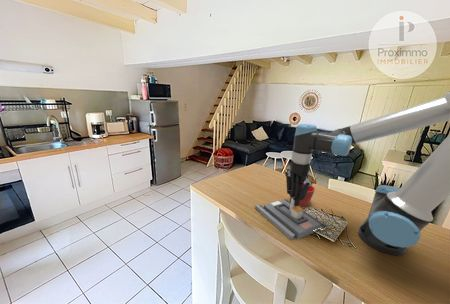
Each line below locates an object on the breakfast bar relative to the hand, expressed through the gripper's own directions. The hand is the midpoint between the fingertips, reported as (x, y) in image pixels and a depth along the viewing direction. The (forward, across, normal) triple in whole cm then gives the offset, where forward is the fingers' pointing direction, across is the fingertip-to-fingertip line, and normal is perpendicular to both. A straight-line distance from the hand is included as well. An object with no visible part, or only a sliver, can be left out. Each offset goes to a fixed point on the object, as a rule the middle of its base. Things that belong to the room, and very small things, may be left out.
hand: (292, 210), depth 84 cm
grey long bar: (+5, +3, +8) cm, 11 cm away
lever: (+2, -2, 0) cm, 3 cm away
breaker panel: (+5, +1, 0) cm, 6 cm away
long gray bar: (+5, +1, -8) cm, 10 cm away
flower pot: (+6, +9, -17) cm, 20 cm away
